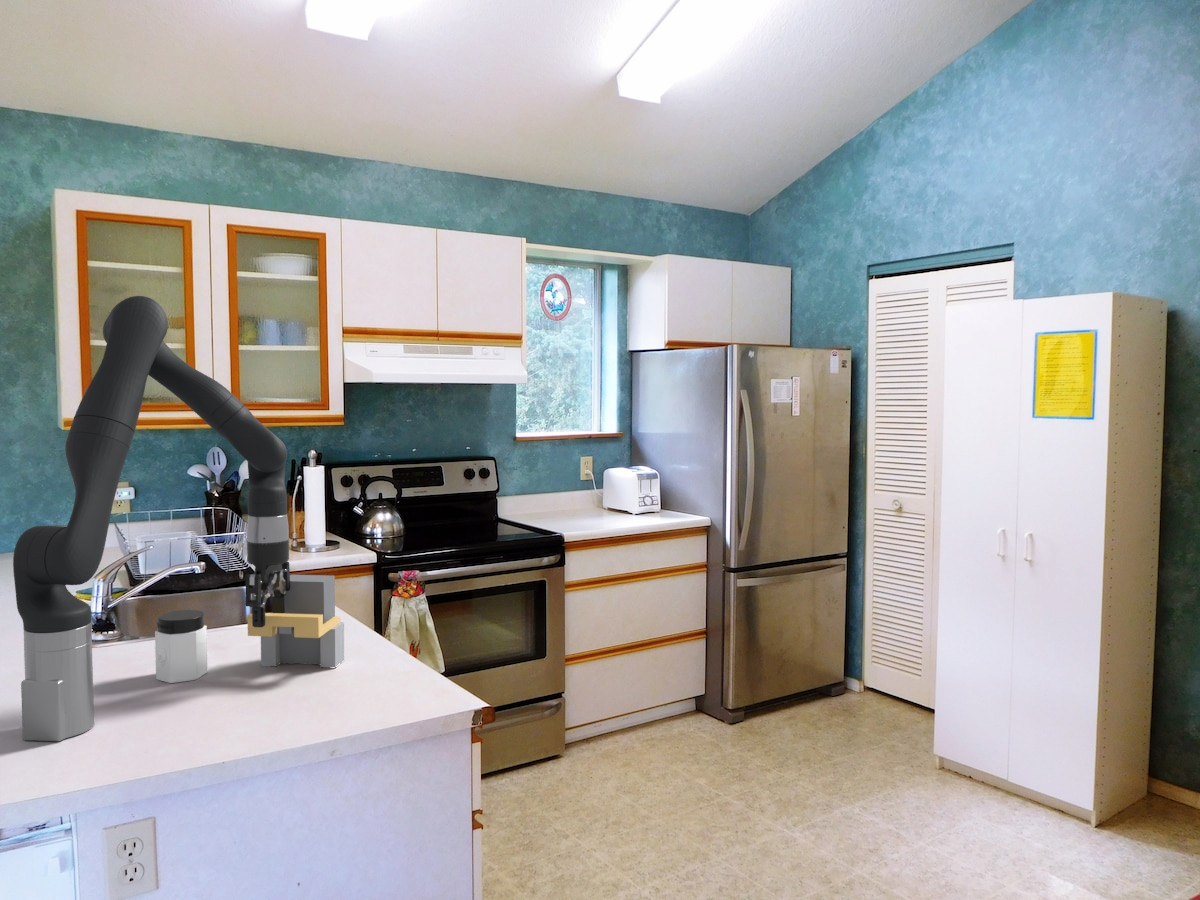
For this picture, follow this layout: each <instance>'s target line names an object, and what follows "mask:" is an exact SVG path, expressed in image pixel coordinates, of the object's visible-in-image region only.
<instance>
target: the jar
mask: <svg viewBox="0 0 1200 900" xmlns="http://www.w3.org/2000/svg"><path fill="white" fill-rule="evenodd" d="M156 627H157V629H156V630H155V632H154V639H155V641H154V642H155V645H154V649H155V651H154V652H155V678H156V680H158V681H161V682H165V683H168V684H176V683H184V682H191V681H197V680H198V679H200V678H201V677H202V676H204V675H205V674H207V673H208V671H209V670H208V634H207V633H208V628H207V627H208V625H206V624H205V613H204V612H203V611H201V610H197V609H182V610H174V611H168V612H163V613H162V614H160V615H158V616H157V618H156Z"/></svg>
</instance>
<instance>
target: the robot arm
mask: <svg viewBox="0 0 1200 900" xmlns="http://www.w3.org/2000/svg"><path fill="white" fill-rule="evenodd" d="M168 325H169V322H168V317H167V313H166V312H165V310H164V309H163V307H162V306H161V305H160V304H159V302H157V301H156V300H155V299H153V298H152V297H148V296H144V295H135V296H134V295H133V296H130V297H126V298H124V299H123V300H121V301H120V302H118V303H117V304H116V305H114V307H113V308H112V309H111V311H110V312H109V314H108V316H107V317H106V319H105V321H104V322H103V326H102V336H103V339H104V341H105V343H106V346H105V350H104V353H103V357H102V359H101V362H100V364H99V367H98V369H97V371H96V373H95V374H94V376H93V377H92V380H91V381H90V382H89V385H88V386H87V388H86V391H85V393H84V394H83V396H82V398H81V400H80V402H79V405H78V407H77V409H76V412H75V414H74V417H73V420H72V423H71V424H70V425H71V426H70V428H69V431H68V434H67V437H66V441H65V446H64V447H65V457H66V461H67V464H68V467H69V471H70V474H71V477H72V480H73V485H74V491H75V493H74V494H75V497H74V503H73V507H72V512H71V515H70V518H69V521H68V523H67V524H66V526H64V525H62V526H61V525H60V526H58V525H37V526H32V527H29V528H28V529H26V530H25V531H24V532H23V533H21V535H20V536H19V538H18V540H17V542H16V544H15V547H14V550H13V551H14V552H13V558H12V559H13V560H12V568H13V571H12V572H13V579H14V588H15V589H14V590H15V602H16V608H17V611H18V614H19V616H20V618H21V619H22V624H23V626H22V627H23V647H24V648H23V652H24V653H23V654H24V655H23V656H24V657H23V658H24V659H23V660H24V661H23V662H24V679H23V680H22V681H20V682H21V683H20V692H21V721H22V723H21V724H22V740H24V741H43V742H44V741H49V742H60V741H63V740H65V739H68V738H71V737H75V736H77V735H78V736H79V735H81V734H83V733H85V732H87V731H89V730H91V729H92V728H93V727H94V725H95V704H94V703H95V702H94V701H95V700H94V673H93V672H94V671H93V670H94V669H93V668H94V667H93V666H94V665H93V634H92V632H93V631H92V629H93V627H92V625H93V624H92V609H91V606H90V605H89V603H87V602H85V601H83V600H82V599H80V598H78V597H77V596H75V595H74V594H72V593H71V592H70V591H69V589H68V588H67V586H79V585H80V586H81V585H83V584H85V583H88V581H90V580H91V579H92V578H93V577H94V576H95V574H96V573H97V570H99V567H100V564H101V561H102V558H103V555H104V551H105V547H106V541H107V535H108V531H109V525H110V519H111V515H112V512H113V511H112V510H113V507H114V506H113V505H114V502H115V498H116V494H117V489H118V487H119V483H120V480H121V476H122V472H123V468H124V467H125V466H124V465H125V462H126V460H127V458H128V454H129V452H130V448H131V446H132V442H133V439H134V436H135V433H136V429H137V424H138V421H139V415H140V412H141V408H142V405H143V399H144V394H145V389H146V386H147V385H146V384H147V380H148V377H151V378H152V379H153V380H155V381H156V382H157V383H159V384H160V385H161V386H163V387H164V388H166V389H167V390H168V391H169V392H171V393H172V394H173V395H174V396H176V398H178V399H179V400H180V401H182V402H183V403H184V404H185V405H186V406H188V407H189V408H190V409H191V411H193V412H194V413H195V414H196V415H198V416H199V417H200V418H201V419H202V421H204V422H205V423H206V424H207V426H209V427H210V428H211V429H213V430H214V431H215V432H216V433H217V434H218V435H220V436H221V437H222V438H223V439H225V441H227V442H228V443H230V445H231V446H232V447H233V448H234V449H235V450H236V451H237V452H238V453H239V455H241V456H242V457H243V458H244V459H245V460H246V461H247V471H248V473H247V475H248V486H249V487H248V492H247V522H246V555H247V556H246V561H247V563H248V564H250V565H253V566H254V573H253V574H249V573H248V574H246V575H245V592H244V594H245V596H244V597H245V599H244V600H245V601H244V604H245V607H249V608H251V610H252V611H251V613H252V625H253V627H263V626H265V613H266V603H267V600H268V598H270V597H271V595H272V598H271V605H272V607H271V610H272V611H271V613H285V607H284V596H286V591H289V590H290V575H291V573H290V570H291V569H290V562H289V559H290V544H289V543H290V542H289V541H290V537H289V534H290V532H289V530H290V529H289V528H290V527H289V520H288V519H289V518H288V494H287V488H286V484H285V482H286V461H287V459H288V450H287V446H286V444H285V443H284V442H283V441H282V440H281V439H280V438H279V437H278V436H277V435H276V434H274V433H273V432H272V431H271V430H270V429H269V428H268V427H267V426H266V425H264V424H263V423H262V422H260V421H259V420H258V419H257V418H256V417H255V416H254V415H253V413H252V412H251V411H250V409H248V407H246V405H244V403H243V402H241V400H240V399H238V398H237V397H236V396H235V395H234V394H233V393H232V392H231V391H230V390H229V389H227V388H226V387H225V386H223V384H221V383H220V382H219V381H217V380H215V379H214V378H212V377H210V376H209V375H207V374H204V373H203V372H201V371H199V370H197V369H196V368H194V367H193V366H191V365H190V364H188V363H187V362H185V361H184V360H183V359H182V358H180V357H179V356H178V355H177V354H175V352H174V351H173V350H172V349H171V348H170V347H169V346H168V345H167V343H166V342H165V341H164V339H166V336H167V334H168V333H167V332H168V328H169V326H168Z"/></svg>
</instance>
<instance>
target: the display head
mask: <svg viewBox="0 0 1200 900" xmlns="http://www.w3.org/2000/svg"><path fill="white" fill-rule="evenodd" d="M335 577H336V576H335V575H327V574H326V575H325V574H324V575H322V574H321V575H318V574H316V575H315V574H290V590H289V591H286V596H284V607H285V613H286V614H320V615H323V624H324V623H326V622H327V621H329V620H330V619H331V618H333V617H334V616H335V617H336V603H335V602H336V601H335V600H336V596H335V595H336V591H335V590H336V587H335V586H336V584H335V582H336V581H335V579H336V578H335ZM343 660H344V661H345V622H344V621H343V622H341V621H340V623H339V624H337V625H336V626H335V627H333V628H332V629H330V630H329V631H328V632H326V633H325V634H324V635H322V636H321V637H319V638H301V637H294V627H277V634H275V635H274V636H272V637H269V636H260V664H261V667H270V666H276V665H277V666H278V664H279V663H303V664H302V665H312V664H321V665H320V668H321V667H336V666H337V665H338V664H339V663H341V662H342V661H343ZM344 661H343V662H344ZM343 662H342V663H343ZM304 663H306V664H304ZM342 663H341V664H342ZM279 665H280V664H279ZM277 666H276V667H277ZM336 668H337V667H336Z"/></svg>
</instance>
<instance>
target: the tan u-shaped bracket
mask: <svg viewBox="0 0 1200 900" xmlns="http://www.w3.org/2000/svg"><path fill="white" fill-rule="evenodd" d="M340 622H341V616H336V615H335V616H334V617H333V618H331V619H330V620H329V621H327V622H326V623H324V624H323V615H320V614H286V613H272V612H265V626H263V627H253V625H252V612H251V613H250V614H247V636H248V637H261V636H269V637H272V636H274V635H275V634H277V627H294V637H301V638H319V637H321V636H322V635H324V634H325V633H326V632H328V631H329V630H330V629H332V628H333V627H335V626H336V625H337V624H339V623H340Z"/></svg>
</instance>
